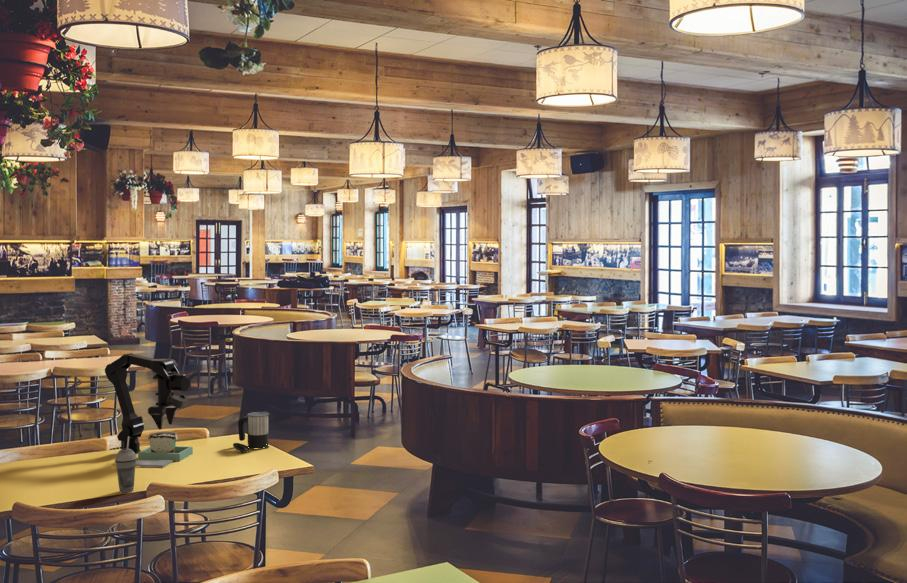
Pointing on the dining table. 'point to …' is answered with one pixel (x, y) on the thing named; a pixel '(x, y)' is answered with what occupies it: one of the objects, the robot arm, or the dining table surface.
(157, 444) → the food container
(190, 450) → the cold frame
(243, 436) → the milk frother
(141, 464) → the slate tile
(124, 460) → the beverage cup
